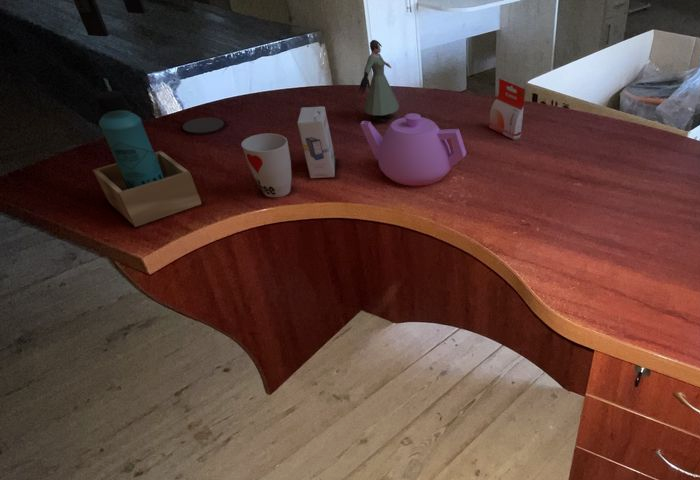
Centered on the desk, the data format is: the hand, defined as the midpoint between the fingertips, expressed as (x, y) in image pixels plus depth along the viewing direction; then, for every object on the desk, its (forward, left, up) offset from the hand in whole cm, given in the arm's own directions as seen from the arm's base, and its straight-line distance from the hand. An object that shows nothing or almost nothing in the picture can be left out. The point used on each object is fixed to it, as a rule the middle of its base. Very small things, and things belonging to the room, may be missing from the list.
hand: (119, 23), depth 88 cm
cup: (+15, +12, -29) cm, 34 cm away
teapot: (+27, +38, -29) cm, 55 cm away
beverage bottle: (+4, -7, -29) cm, 30 cm away
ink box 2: (+26, +68, -29) cm, 78 cm away
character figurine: (0, +50, -29) cm, 58 cm away
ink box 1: (+13, +24, -29) cm, 40 cm away
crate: (+4, -7, -29) cm, 30 cm away
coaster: (-24, +16, -29) cm, 41 cm away
